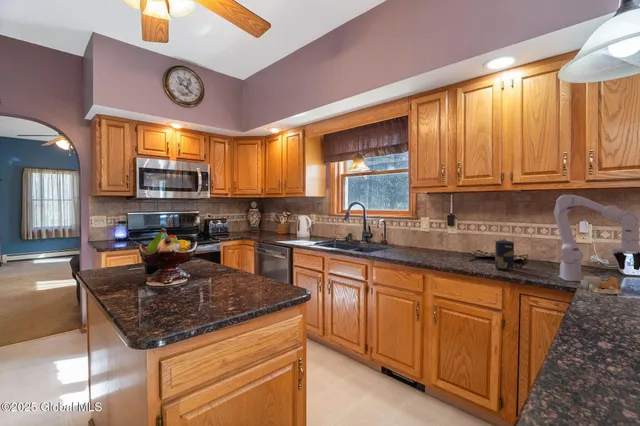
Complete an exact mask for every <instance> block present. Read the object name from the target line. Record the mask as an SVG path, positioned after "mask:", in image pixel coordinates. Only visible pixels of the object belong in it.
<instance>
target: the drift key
mask: <svg viewBox="0 0 640 426" xmlns="http://www.w3.org/2000/svg"><path fill="white" fill-rule="evenodd" d="M609 286H611V287H614V288H616V289H619V278H617V277H614V276H609V279H608V281H605V280H601V289H602V288H604V289H609Z"/></svg>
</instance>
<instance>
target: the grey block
mask: <svg viewBox="0 0 640 426" xmlns="http://www.w3.org/2000/svg"><path fill="white" fill-rule="evenodd" d="M582 280H583V286H585V287H584V288H586V287H587V288H586V289H588V288H589V283H594V284H598V288H600V289H602V288H601V281H602V278H600V277H598V276H589V275H587V276H586V275H585V276H583V277H582ZM583 286H582V287H583Z"/></svg>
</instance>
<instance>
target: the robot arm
mask: <svg viewBox="0 0 640 426" xmlns="http://www.w3.org/2000/svg"><path fill="white" fill-rule="evenodd" d="M555 203H556V204H555V206H554V209H553V216H554V219H555V222H556V225H557V229H558V233H559V236H560V240H561V243H562V246H561V255H560V256H561V259H562V261H561V263H560V265H559V275H557V277H558V278H560V279H562V280H564V281H567V282H581V280H583V278H582V277H581V276H582V272H581V271H582V262H581V260H582V259H583V257H584V254H583V252H582V250H581V249H580V247H579V245H578V244H577V243H576V241H575V237H574V234H573V231H572V230H573V229H572V228H571V224H570V221H569V217H568V213H569V212H570V211H571V209H573V208H575V207H577V206H583V207H585V208H588V209H591V210H594V211H597V212H600V213H601V214H602V217H605V218H607V219H610V220H612V221H614V222H617V223H620V224H621V225H622V227H621V240H620V241H621V242H620V245H621V247H620V248H609V249H608V250H609V251H608V252H609V253H610V254H613V257H615V259H616V261H617V262H616V263H617V264H618V268H619V269H620V270H625V269H626V260H627V257H628V256H627V255H626V254H629V255H630V254H631V255H632V259H633V270H635V271H639V270H640V215H639V214H637V213H636V212H630V210H624V209H621V208H619V207H618V206H617V205H606V206H605V205H604V204H601V203H599V202H596V201H593V200H591V199H588V198H586V197H583V196H581V195H580V196H579V195H576V194H562V195H560V196H559V197H558V198H557V199H556V200H555Z"/></svg>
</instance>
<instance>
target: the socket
mask: <svg viewBox="0 0 640 426" xmlns="http://www.w3.org/2000/svg"><path fill="white" fill-rule="evenodd" d="M582 285H583V279H582V280H581V281H580V286H582ZM589 285H591V286H594V287H596V288H598V284H594V283H589Z"/></svg>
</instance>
